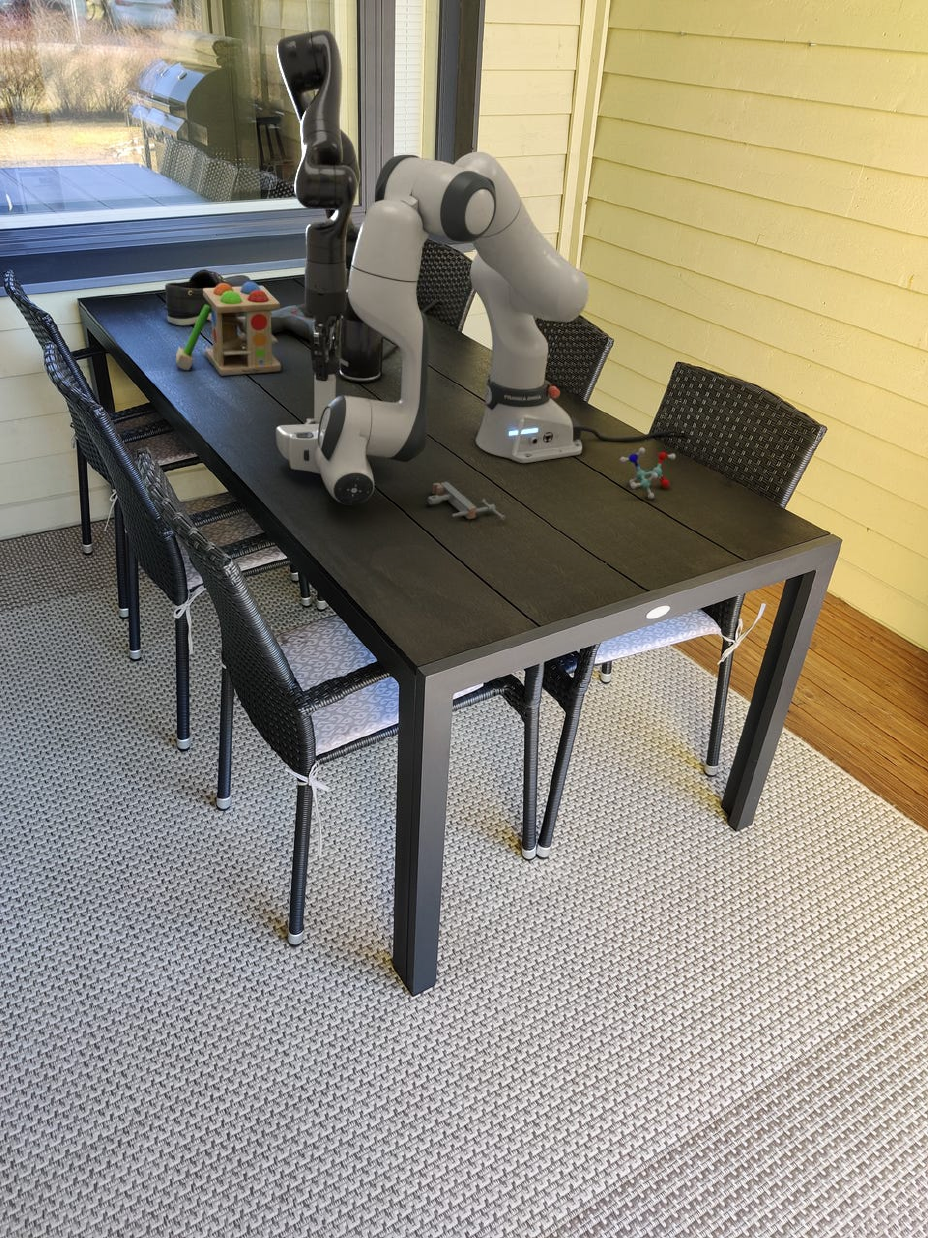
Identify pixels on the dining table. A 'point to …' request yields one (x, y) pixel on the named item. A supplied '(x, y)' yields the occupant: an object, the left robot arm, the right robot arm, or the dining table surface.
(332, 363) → the lid
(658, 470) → the molecular model
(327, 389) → the jar
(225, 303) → the pounding bench toy
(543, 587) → the dining table surface
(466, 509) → the clamp
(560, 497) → the dining table surface
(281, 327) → the power drill
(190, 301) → the boat shoe
